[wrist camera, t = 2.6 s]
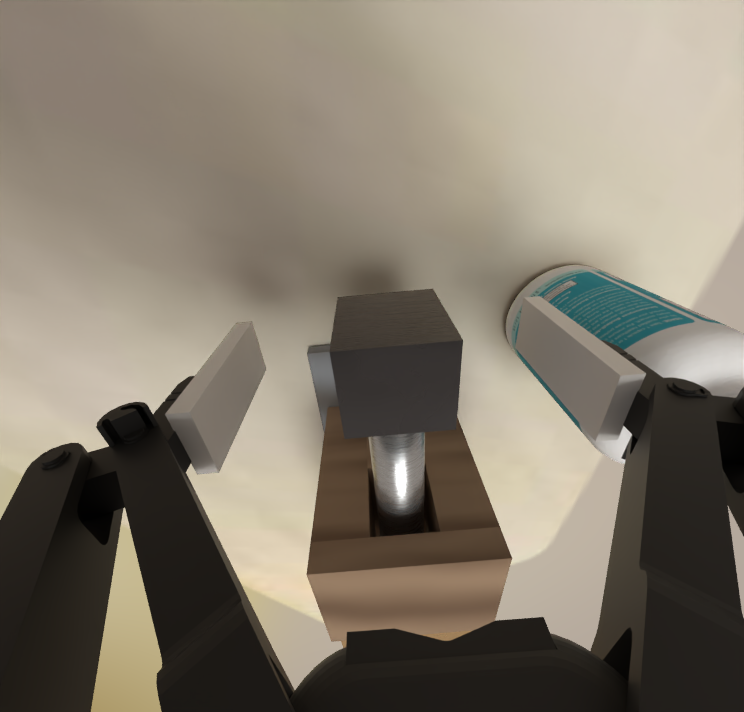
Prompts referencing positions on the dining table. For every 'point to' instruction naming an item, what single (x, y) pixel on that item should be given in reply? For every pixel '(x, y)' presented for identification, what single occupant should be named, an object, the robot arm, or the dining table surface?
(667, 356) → the pill bottle
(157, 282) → the dining table surface
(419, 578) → the bearing block
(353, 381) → the shaft
